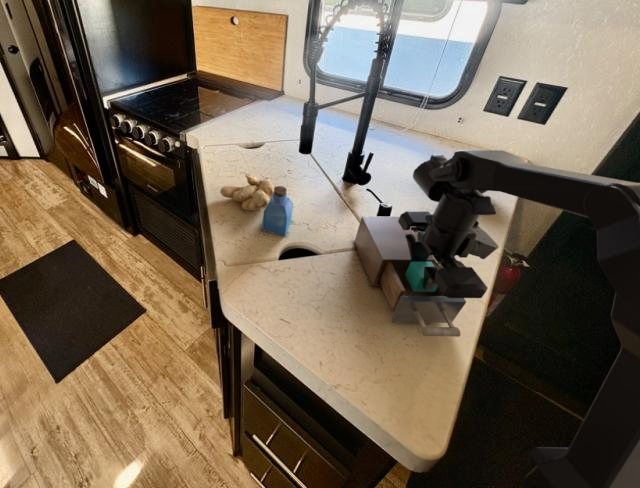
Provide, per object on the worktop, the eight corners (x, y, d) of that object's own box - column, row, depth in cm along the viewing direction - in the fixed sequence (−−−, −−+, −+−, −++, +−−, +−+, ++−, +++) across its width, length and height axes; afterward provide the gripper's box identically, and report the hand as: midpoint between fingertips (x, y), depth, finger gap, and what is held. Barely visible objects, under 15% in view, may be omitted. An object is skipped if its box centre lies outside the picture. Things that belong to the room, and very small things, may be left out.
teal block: (434, 291, 59) (442, 278, 57) (413, 291, 59) (420, 278, 57) (424, 275, 63) (431, 261, 60) (404, 274, 63) (411, 261, 60)
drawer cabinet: (429, 286, 68) (444, 259, 63) (372, 286, 68) (382, 259, 63) (403, 242, 79) (414, 216, 74) (354, 241, 79) (361, 216, 74)
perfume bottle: (262, 229, 83) (264, 193, 76) (269, 215, 88) (272, 180, 81) (284, 236, 81) (289, 199, 74) (290, 221, 86) (295, 185, 79)
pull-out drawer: (466, 347, 56) (483, 326, 52) (403, 347, 56) (415, 326, 52) (421, 271, 70) (432, 250, 66) (371, 271, 70) (378, 250, 66)
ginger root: (294, 199, 92) (291, 179, 86) (253, 230, 86) (247, 210, 81) (260, 177, 102) (255, 158, 97) (221, 204, 97) (215, 185, 91)
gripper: (546, 262, 44) (494, 324, 53) (467, 187, 59) (437, 245, 68) (467, 262, 44) (428, 324, 53) (409, 186, 59) (387, 245, 68)
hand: (421, 279), depth 60 cm, fingers closed on teal block, 4 cm apart
